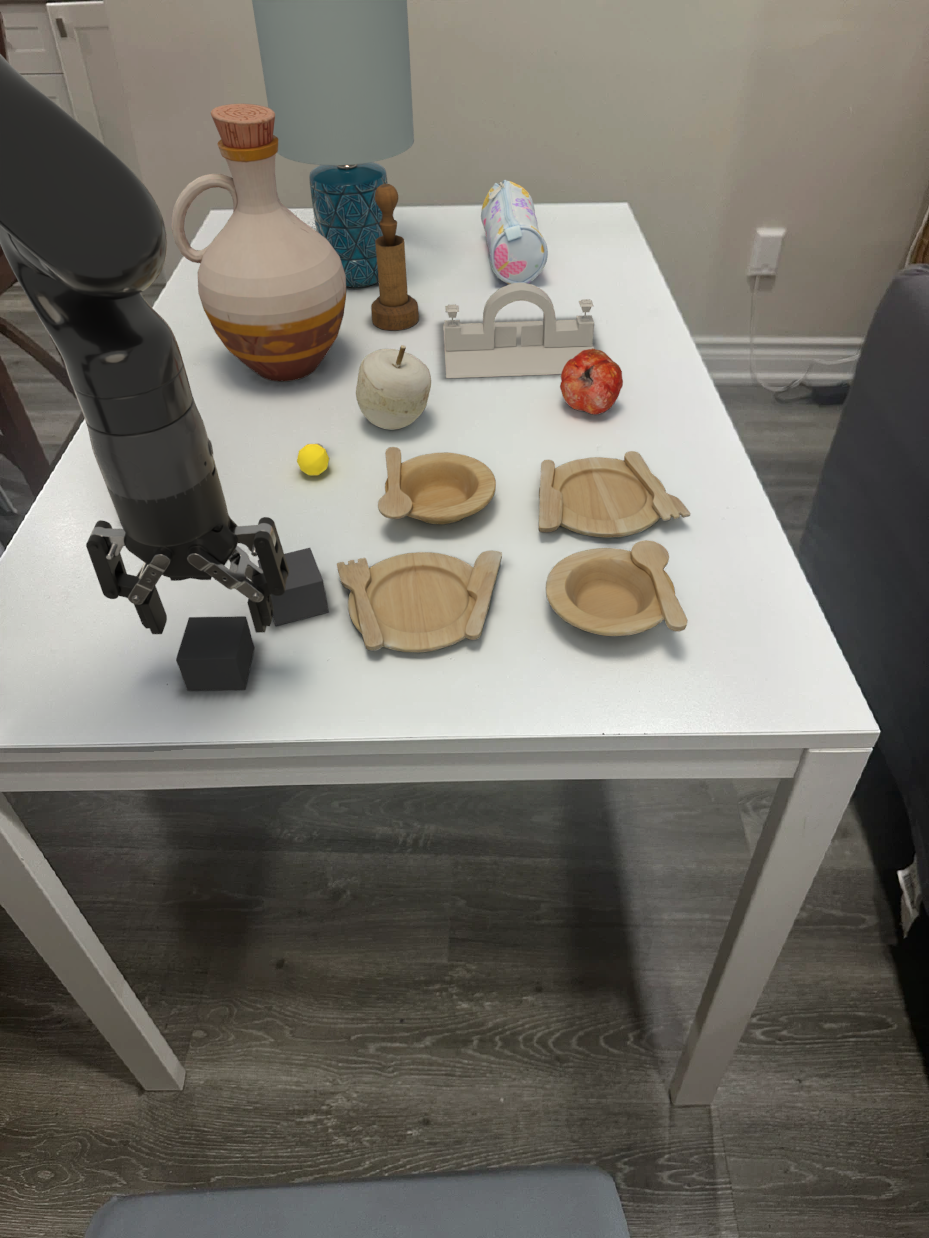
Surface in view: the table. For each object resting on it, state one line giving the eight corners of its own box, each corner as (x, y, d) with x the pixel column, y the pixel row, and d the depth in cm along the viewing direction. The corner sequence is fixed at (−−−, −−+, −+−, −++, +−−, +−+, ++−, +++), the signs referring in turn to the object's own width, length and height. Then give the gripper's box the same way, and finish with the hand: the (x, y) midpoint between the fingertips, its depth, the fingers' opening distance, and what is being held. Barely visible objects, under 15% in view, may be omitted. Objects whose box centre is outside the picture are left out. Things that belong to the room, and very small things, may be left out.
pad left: (187, 691, 74) (175, 659, 71) (199, 648, 78) (188, 616, 75) (245, 690, 74) (236, 658, 71) (255, 647, 78) (246, 615, 75)
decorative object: (346, 418, 105) (336, 341, 98) (409, 397, 108) (404, 321, 101) (381, 453, 99) (374, 374, 92) (447, 429, 102) (444, 351, 95)
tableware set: (668, 465, 97) (674, 434, 94) (725, 658, 76) (734, 626, 73) (354, 470, 97) (350, 438, 94) (325, 663, 76) (319, 631, 73)
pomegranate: (564, 405, 110) (537, 390, 101) (591, 351, 108) (565, 330, 99) (615, 429, 108) (591, 416, 98) (642, 374, 106) (621, 355, 97)
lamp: (306, 252, 141) (265, -38, 114) (425, 252, 140) (411, -39, 113) (284, 304, 127) (232, -10, 100) (415, 305, 126) (397, -12, 100)
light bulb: (303, 484, 95) (289, 454, 93) (311, 466, 100) (298, 438, 99) (331, 474, 95) (318, 444, 93) (338, 457, 100) (325, 428, 98)
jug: (191, 404, 108) (120, 137, 86) (218, 336, 120) (162, 89, 99) (349, 400, 107) (316, 133, 86) (359, 333, 120) (333, 86, 99)
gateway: (445, 351, 116) (443, 293, 110) (445, 343, 118) (443, 285, 112) (592, 346, 116) (597, 287, 111) (589, 338, 118) (594, 280, 112)
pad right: (275, 626, 80) (268, 594, 77) (265, 591, 83) (257, 560, 80) (328, 612, 81) (323, 580, 78) (316, 578, 84) (310, 547, 81)
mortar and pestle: (390, 335, 120) (378, 198, 107) (363, 319, 123) (349, 184, 111) (428, 321, 123) (421, 185, 110) (400, 305, 126) (391, 173, 113)
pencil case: (480, 237, 144) (480, 176, 137) (532, 235, 144) (535, 174, 137) (489, 292, 129) (489, 226, 122) (547, 290, 129) (551, 224, 122)
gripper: (38, 498, 58) (114, 661, 70) (250, 494, 58) (291, 658, 69) (74, 436, 63) (138, 597, 75) (268, 431, 63) (303, 593, 75)
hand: (211, 626), depth 72 cm, fingers open, 8 cm apart
